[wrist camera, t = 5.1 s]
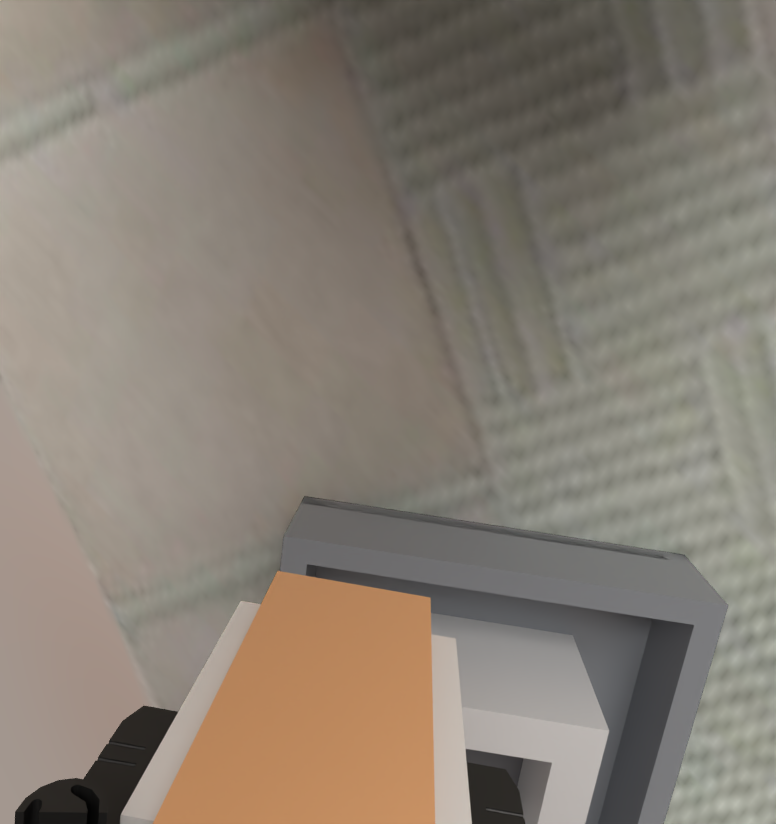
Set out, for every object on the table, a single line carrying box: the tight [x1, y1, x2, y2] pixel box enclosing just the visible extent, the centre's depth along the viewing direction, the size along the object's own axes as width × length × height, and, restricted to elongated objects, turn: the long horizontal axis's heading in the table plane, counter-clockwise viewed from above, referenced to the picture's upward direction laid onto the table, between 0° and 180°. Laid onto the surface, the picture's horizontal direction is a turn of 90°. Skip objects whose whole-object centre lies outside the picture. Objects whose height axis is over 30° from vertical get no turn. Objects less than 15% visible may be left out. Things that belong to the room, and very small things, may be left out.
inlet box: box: [280, 496, 728, 824], centre depth 32 cm, size 20×20×8 cm
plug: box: [153, 571, 435, 824], centre depth 12 cm, size 4×4×10 cm
